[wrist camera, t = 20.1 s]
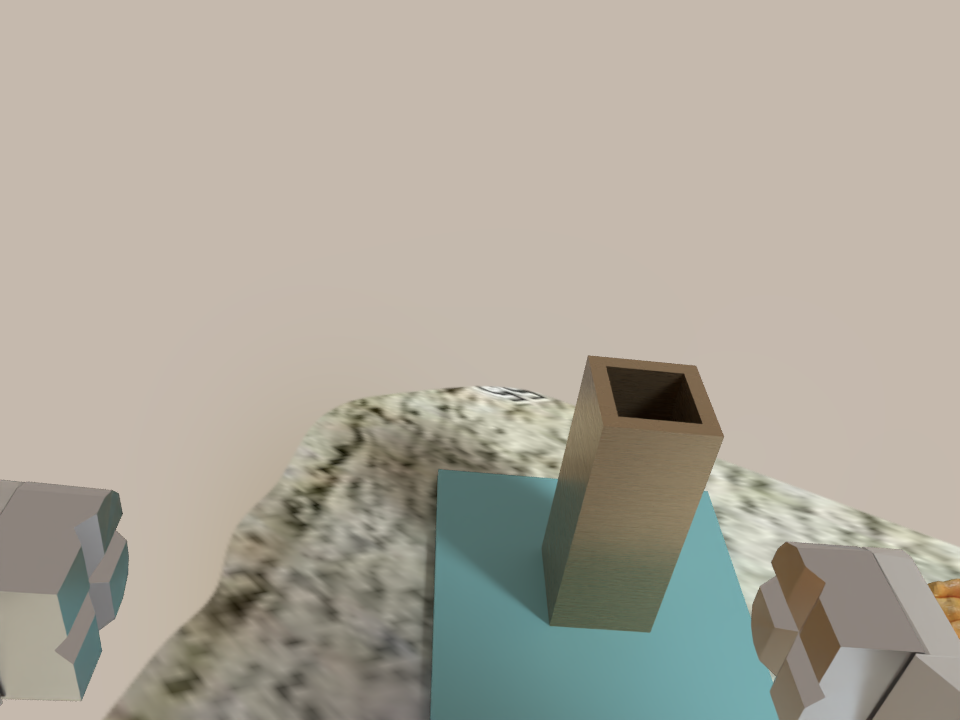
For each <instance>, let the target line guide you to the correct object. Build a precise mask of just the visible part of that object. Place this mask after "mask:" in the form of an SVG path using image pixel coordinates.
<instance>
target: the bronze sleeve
mask: <svg viewBox="0 0 960 720" xmlns="http://www.w3.org/2000/svg"><path fill="white" fill-rule="evenodd" d="M723 438H724V435H723V433H722V430H721V428H720V425H719V423H718V420H717V418H716V415H715V413H714V410H713V407H712V405H711V402H710V400H709V397H708V395H707V392H706V390H705V387H704V385H703V382H702V380H701V377H700V375H699V372H698V369H697V367H696V366H693V365H682V364H672V363H662V362H651V361H641V360H629V359H619V358H609V357H599V356H588V358H587V362H586V366H585V370H584V374H583V379H582V383H581V387H580V391H579V395H578V399H577V404H576V407H575V411H574V416H573V420H572V424H571V428H570V432H569V436H568V440H567V444H566V449H565V453H564V457H563V461H562V465H561V469H560V473H559V477H558V482H557V486H556V490H555V494H554V498H553V502H552V506H551V511H550V515H549V519H548V523H547V527H546V531H545V535H544V539H543V544H542V548H541V549H542V559H543V569H544V578H545V588H546V597H547V607H548V616H549V626H557V627H572V628H587V629H602V630H617V631H632V632H647V633H650V632H651V630H652V627H653V624H654V622H655V619H656V616H657V614H658V611H659V608H660V606H661V603H662V600H663V598H664V595H665V592H666V590H667V587H668V584H669V582H670V579H671V576H672V574H673V571H674V569H675V566H676V563H677V561H678V558H679V555H680V553H681V550H682V547H683V545H684V542H685V539H686V537H687V534H688V531H689V529H690V526H691V523H692V521H693V518H694V515H695V513H696V510H697V507H698V505H699V502H700V499H701V497H702V494H703V491H704V489H705V486H706V483H707V481H708V478H709V475H710V473H711V470H712V468H713V465H714V462H715V460H716V457H717V454H718V452H719V449H720V446H721V444H722V441H723Z"/></svg>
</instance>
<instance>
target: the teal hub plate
mask: <svg viewBox="0 0 960 720" xmlns="http://www.w3.org/2000/svg"><path fill="white" fill-rule="evenodd" d="M557 482H558V479H551V478H539V477H527V476H515V475H502V474H490V473H478V472H466V471H454V470H442V469H439V470H438V481H437V513H436V545H435V578H434V610H433V642H432V674H431V706H430V720H779V718H778V715H777V712H776V709H775V706H774V703H773V700H772V698H771V695H770V692H769V691H770V689H771V687H772V684H773V681H772V678H771V676H770V673H769V670H768V668H767V667H766V666H765V665H764V664H763V663H761V662H760V661H759V659H758V656H757V653H756V650H755V646H754V643H753V638H752V630H751V617H750V614H749V611H748V608H747V605H746V602H745V599H744V597H743V594H742V591H741V588H740V585H739V582H738V579H737V576H736V573H735V570H734V567H733V564H732V561H731V558H730V556H729V553H728V550H727V547H726V544H725V541H724V538H723V535H722V532H721V529H720V526H719V523H718V520H717V517H716V515H715V512H714V509H713V506H712V503H711V500H710V497H709V494H708V491H703V494H702V497H701V499H700V502H699V505H698V507H697V510H696V513H695V515H694V518H693V521H692V523H691V526H690V529H689V531H688V534H687V537H686V539H685V542H684V545H683V547H682V550H681V553H680V555H679V558H678V561H677V563H676V566H675V569H674V571H673V574H672V576H671V579H670V582H669V584H668V587H667V590H666V592H665V595H664V598H663V600H662V603H661V606H660V608H659V611H658V614H657V616H656V619H655V622H654V624H653V627H652V630H651V632H650V633H647V632H632V631H617V630H602V629H587V628H572V627H557V626H549V616H548V607H547V597H546V588H545V578H544V569H543V559H542V549H541V548H542V544H543V539H544V535H545V531H546V527H547V523H548V519H549V515H550V511H551V506H552V502H553V498H554V494H555V490H556V486H557Z"/></svg>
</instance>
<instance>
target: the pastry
mask: <svg viewBox="0 0 960 720" xmlns="http://www.w3.org/2000/svg"><path fill="white" fill-rule="evenodd" d="M927 585H928V586H929V588H930V590H931V591H932V593H933V595H934V597H935V598H936V600H937V602H938V603H939V605H940V607H941V609H942V610H943V612H944V614H945V615H946V617H947V619H948V621H949V622H950V624H951V626H952V628H953V629H954V631H955V633H956V634H957V636H958V638H959V640H960V579H952V580H949V581H944V582H942V581H937V582H932V583H929V584H927Z"/></svg>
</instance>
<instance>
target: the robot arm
mask: <svg viewBox="0 0 960 720" xmlns="http://www.w3.org/2000/svg"><path fill="white" fill-rule="evenodd" d="M122 514H123V513H122V508H121V503H120V498H119V494H118V493H117V492H115V491H113V490H104V489H95V488H85V487H74V486H64V485H56V484H45V483H36V482H17V481H8V480H7V481H6V480H0V705H2V699H20V700H21V699H22V700H56V701H82V699H83V696H84V694H85V691H86V689H87V686H88V684H89V681H90V679H91V677H92V674H93V672H94V669H95V667H96V664H97V662H98V660H99V657H100V655H101V652H102V648H101V642H100V637H99V630H100V629H102V628H103V627H104V626H106V625H107V624H108V623H110V622H111V621H112V620H114V619H115V617H116V615H117V612H118V609H119V607H120V604H121V601H122V599H123V595H124V590H125V585H126V581H127V576H128V561H129V555H128V547H127V540H126V539H125V538H123V536H121V535H120V534H119V533H118V532H117V531H116V528H117V526H118V523H119V521H120V519H121V516H122ZM771 563H772V566H773V569H774V571H775V574H776V576H775V577H773V578H772V579H770V580H769V581H767V582H766V583H764V584H763V585H761V586H760V587H759V590H758V592H757V595H756V597H755V599H754V602H753V604H752V616H751V630H752V638H753V643H754V646H755V650H756V653H757V656H758V659H759V661H760V662H761V663H763V664H764V665H765V666H766V667H767V668H768V669H769V670H770V671H771V672H772V673H773V674H774V675H775V676H776V678H775V680H774V682H773V684H772V687H771V689H770V691H769V692H770V695H771V698H772V700H773V703H774V706H775V709H776V712H777V715H778V718H779V720H960V640H959V638H958V636H957V634H956V633H955V631H954V629H953V628H952V626H951V624H950V622H949V621H948V619H947V617H946V615H945V614H944V612H943V610H942V609H941V607H940V605H939V603H938V602H937V600H936V598H935V597H934V595H933V593H932V591H931V590H930V588H929V586H928V585H927V583H926V581H925V579H924V578H923V576H922V574H921V572H920V571H919V569H918V567H917V566H916V564H915V562H914V560H913V559H912V557H911V556H910V555H908V554H907V553H906V552H905V551H903V550H902V549H888V548H873V547H862V548H860V547H857V546H843V545H828V544H813V543H798V542H785V543H784V544H783V545H782V546H780V547H779V548H778V549H777V551H776V553H775V555H774V557H773V560H772V562H771Z"/></svg>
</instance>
